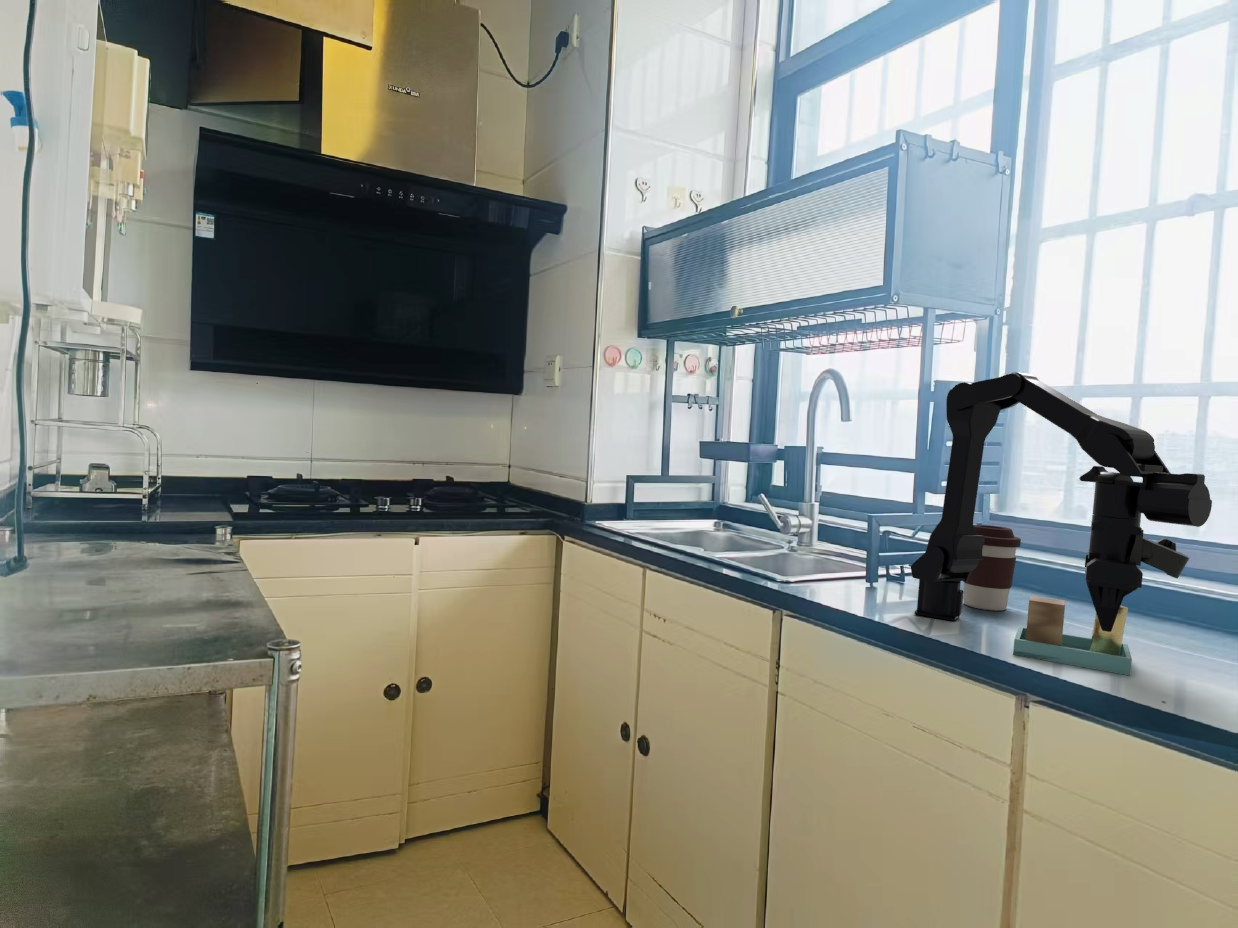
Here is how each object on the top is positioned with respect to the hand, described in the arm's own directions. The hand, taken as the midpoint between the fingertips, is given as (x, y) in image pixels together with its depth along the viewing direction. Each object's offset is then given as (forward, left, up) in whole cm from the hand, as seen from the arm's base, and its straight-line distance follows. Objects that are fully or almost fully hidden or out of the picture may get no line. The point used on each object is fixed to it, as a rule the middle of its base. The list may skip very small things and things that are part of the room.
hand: (1105, 627), depth 109 cm
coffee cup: (-18, +30, -5) cm, 36 cm away
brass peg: (0, 0, -4) cm, 4 cm away
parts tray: (-4, 0, -5) cm, 6 cm away
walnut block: (-7, 0, -4) cm, 9 cm away
